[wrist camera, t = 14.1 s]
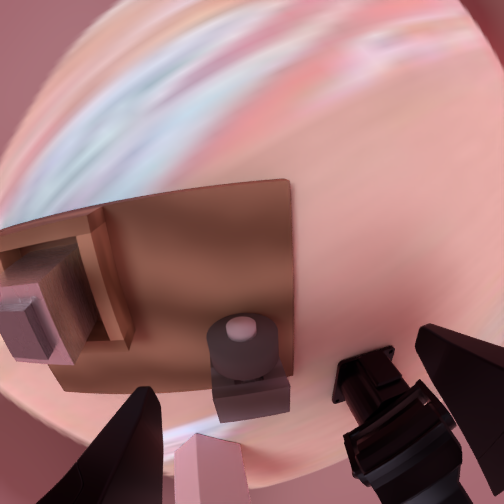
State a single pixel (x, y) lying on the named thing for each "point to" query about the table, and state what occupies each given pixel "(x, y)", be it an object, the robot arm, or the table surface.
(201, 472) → the milk
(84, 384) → the frame
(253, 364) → the wheel
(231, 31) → the table surface
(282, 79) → the table surface
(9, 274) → the block
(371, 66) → the table surface
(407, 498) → the robot arm
